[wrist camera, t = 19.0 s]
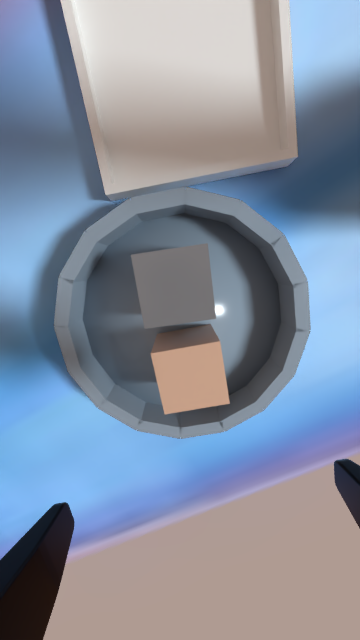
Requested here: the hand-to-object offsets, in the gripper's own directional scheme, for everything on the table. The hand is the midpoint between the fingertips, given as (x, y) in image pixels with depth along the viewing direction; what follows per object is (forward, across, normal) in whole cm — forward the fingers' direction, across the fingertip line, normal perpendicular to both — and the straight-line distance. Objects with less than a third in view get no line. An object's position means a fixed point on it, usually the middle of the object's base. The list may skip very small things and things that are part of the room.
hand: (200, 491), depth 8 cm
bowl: (+13, 0, -3) cm, 13 cm away
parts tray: (+13, -3, -23) cm, 26 cm away
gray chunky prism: (+12, 0, -6) cm, 14 cm away
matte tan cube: (+12, 0, 0) cm, 12 cm away
